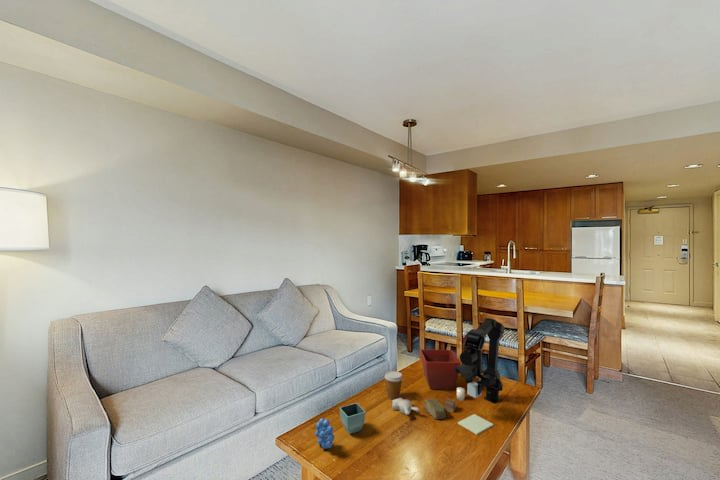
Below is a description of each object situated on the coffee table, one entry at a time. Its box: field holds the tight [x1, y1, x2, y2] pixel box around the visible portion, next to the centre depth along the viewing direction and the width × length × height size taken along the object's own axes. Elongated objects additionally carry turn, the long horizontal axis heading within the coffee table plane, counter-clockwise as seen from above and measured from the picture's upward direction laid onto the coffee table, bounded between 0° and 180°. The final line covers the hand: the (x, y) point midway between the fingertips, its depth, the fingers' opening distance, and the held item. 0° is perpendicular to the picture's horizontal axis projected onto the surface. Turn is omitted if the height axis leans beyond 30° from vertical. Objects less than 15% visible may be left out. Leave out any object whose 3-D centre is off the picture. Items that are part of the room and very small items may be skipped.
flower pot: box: [339, 402, 366, 435], centre depth 142 cm, size 9×9×9 cm
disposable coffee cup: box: [384, 370, 404, 401], centre depth 171 cm, size 10×10×12 cm
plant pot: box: [420, 349, 462, 391], centre depth 186 cm, size 19×19×17 cm
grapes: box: [314, 417, 336, 450], centre depth 130 cm, size 12×7×12 cm, turn 41°
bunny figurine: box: [391, 397, 420, 416], centre depth 158 cm, size 10×5×15 cm
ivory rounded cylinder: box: [456, 386, 466, 401], centre depth 170 cm, size 4×4×5 cm
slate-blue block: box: [466, 380, 482, 399], centre depth 153 cm, size 4×4×5 cm
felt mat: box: [457, 413, 494, 435], centre depth 147 cm, size 12×10×1 cm
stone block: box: [424, 398, 447, 420], centre depth 156 cm, size 6×12×5 cm, turn 17°
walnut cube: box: [444, 398, 457, 413], centre depth 159 cm, size 4×4×4 cm
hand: (474, 392), depth 153 cm, fingers closed on slate-blue block, 4 cm apart
